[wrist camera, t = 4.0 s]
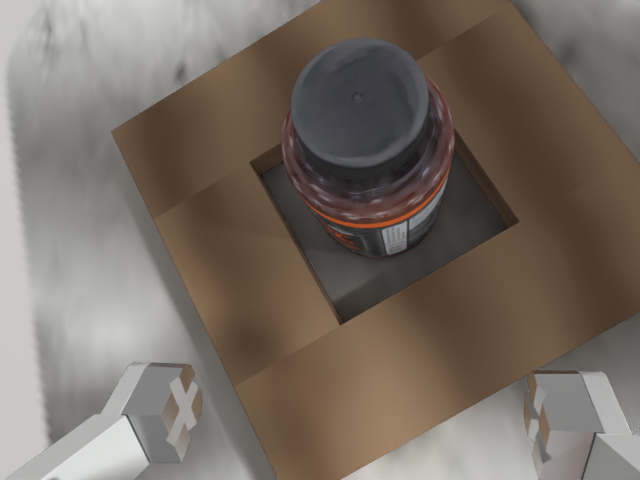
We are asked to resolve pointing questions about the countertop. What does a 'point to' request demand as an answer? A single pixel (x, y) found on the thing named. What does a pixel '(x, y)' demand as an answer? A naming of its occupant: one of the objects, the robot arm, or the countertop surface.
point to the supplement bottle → (369, 145)
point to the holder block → (427, 293)
